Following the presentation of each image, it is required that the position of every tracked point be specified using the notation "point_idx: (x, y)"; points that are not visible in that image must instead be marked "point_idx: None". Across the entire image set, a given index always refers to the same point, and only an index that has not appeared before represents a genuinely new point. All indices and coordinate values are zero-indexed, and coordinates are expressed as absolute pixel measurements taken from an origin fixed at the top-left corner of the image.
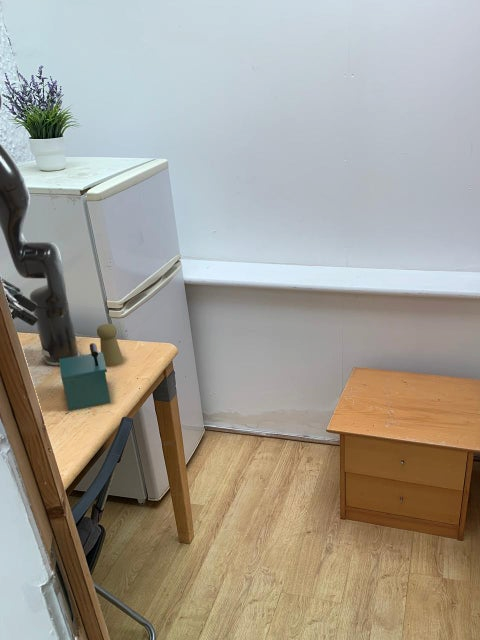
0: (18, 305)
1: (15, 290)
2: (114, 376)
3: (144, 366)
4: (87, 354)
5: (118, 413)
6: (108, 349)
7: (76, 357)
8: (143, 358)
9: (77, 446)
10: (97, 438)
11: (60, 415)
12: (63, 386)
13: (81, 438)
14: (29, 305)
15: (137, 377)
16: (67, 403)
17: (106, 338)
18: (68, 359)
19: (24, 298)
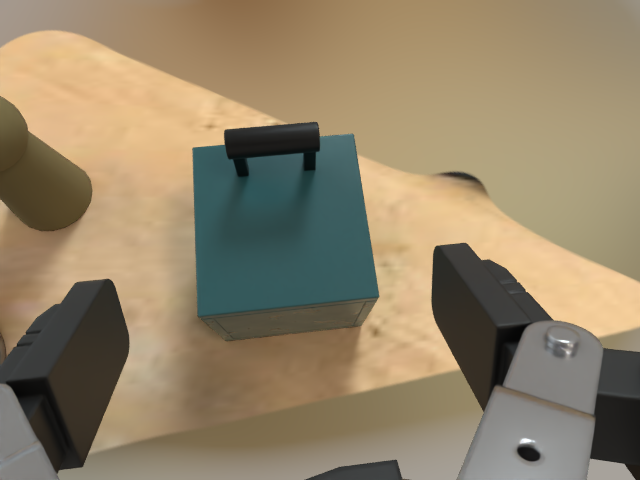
0: (542, 366)
1: (46, 458)
2: (170, 190)
3: (135, 104)
4: (196, 201)
5: (409, 183)
6: (52, 169)
7: (210, 243)
8: (76, 104)
9: (571, 292)
10: (535, 239)
11: (384, 352)
12: (372, 306)
13: (530, 282)
14: (103, 346)
15: (203, 127)
16: (363, 320)
17: (26, 145)
18: (218, 275)
19: (62, 371)
